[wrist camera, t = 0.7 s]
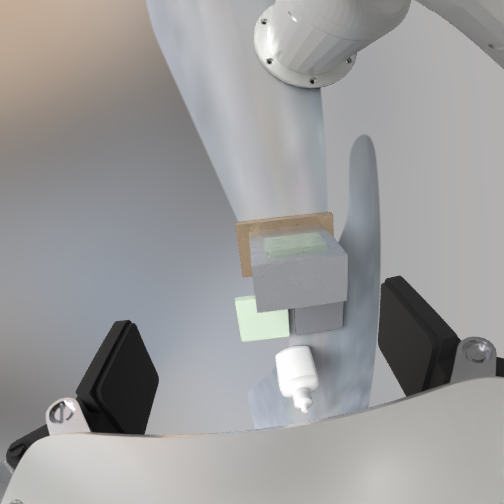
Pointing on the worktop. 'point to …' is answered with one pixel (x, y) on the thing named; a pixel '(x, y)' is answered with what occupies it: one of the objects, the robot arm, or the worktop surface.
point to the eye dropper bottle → (297, 375)
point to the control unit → (293, 261)
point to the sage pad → (260, 321)
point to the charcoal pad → (318, 318)
